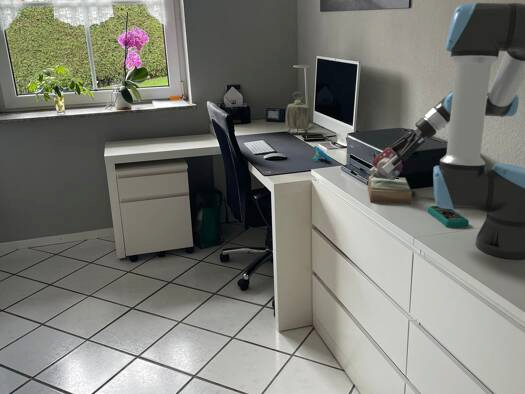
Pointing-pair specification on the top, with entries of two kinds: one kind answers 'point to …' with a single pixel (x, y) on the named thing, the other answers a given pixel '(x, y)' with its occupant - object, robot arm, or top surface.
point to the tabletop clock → (297, 115)
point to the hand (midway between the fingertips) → (382, 166)
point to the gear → (320, 154)
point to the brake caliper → (377, 167)
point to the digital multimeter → (448, 217)
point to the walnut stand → (389, 191)
